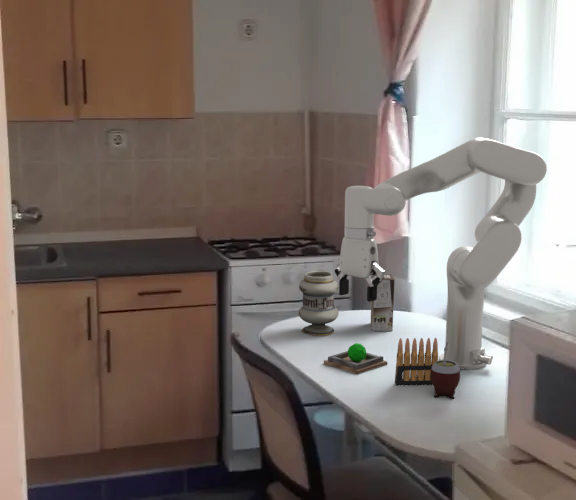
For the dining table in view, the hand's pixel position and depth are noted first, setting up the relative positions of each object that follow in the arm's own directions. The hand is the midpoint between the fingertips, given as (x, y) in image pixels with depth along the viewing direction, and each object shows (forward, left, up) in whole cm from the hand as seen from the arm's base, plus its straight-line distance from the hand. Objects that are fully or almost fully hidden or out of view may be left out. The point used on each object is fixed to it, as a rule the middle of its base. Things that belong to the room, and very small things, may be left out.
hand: (357, 297), depth 225 cm
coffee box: (+19, -34, -19) cm, 43 cm away
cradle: (0, 0, -18) cm, 18 cm away
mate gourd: (-31, +3, -19) cm, 36 cm away
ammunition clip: (-21, +1, -19) cm, 28 cm away
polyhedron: (0, 0, -18) cm, 18 cm away
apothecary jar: (+29, -16, -19) cm, 38 cm away
